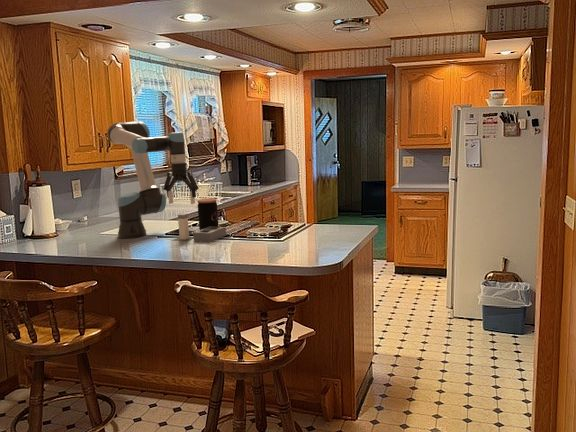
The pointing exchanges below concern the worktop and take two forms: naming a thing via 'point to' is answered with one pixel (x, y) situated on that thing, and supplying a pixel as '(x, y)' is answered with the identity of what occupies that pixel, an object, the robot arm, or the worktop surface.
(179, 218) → the plug
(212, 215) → the coffee jar
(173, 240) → the deck mat
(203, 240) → the socket box
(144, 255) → the worktop surface
